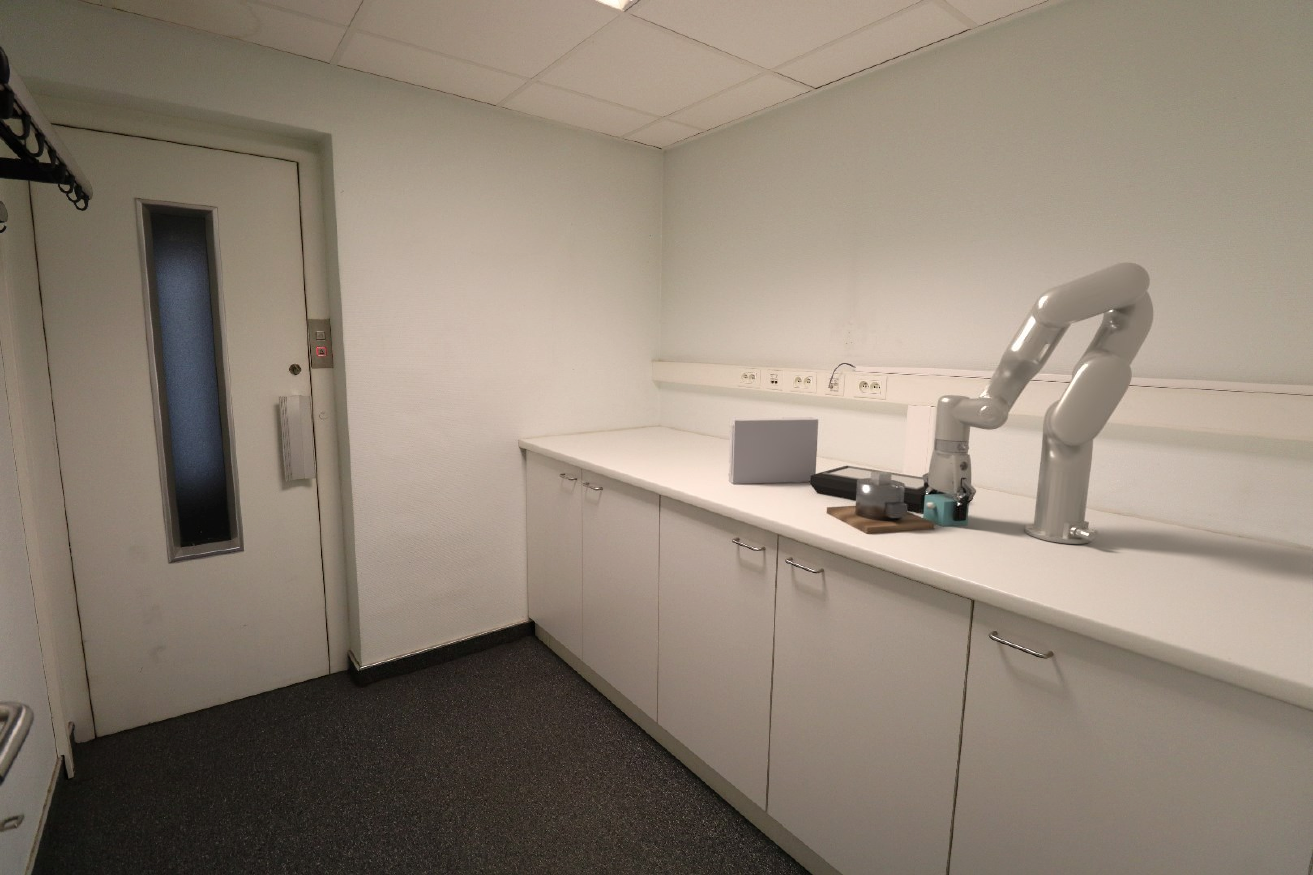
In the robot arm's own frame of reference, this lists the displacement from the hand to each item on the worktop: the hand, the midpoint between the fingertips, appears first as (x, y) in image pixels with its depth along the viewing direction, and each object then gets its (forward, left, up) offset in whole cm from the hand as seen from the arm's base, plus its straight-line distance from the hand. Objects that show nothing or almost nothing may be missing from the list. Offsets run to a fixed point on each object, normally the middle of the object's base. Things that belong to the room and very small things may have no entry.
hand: (945, 515), depth 152 cm
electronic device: (+25, +2, -2) cm, 25 cm away
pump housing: (0, 0, -2) cm, 2 cm away
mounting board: (+4, +16, -2) cm, 17 cm away
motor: (+3, +16, 0) cm, 16 cm away
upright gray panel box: (+51, +23, -2) cm, 56 cm away
